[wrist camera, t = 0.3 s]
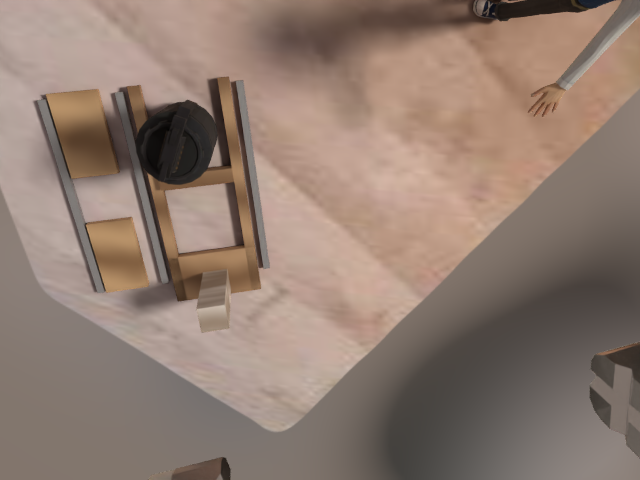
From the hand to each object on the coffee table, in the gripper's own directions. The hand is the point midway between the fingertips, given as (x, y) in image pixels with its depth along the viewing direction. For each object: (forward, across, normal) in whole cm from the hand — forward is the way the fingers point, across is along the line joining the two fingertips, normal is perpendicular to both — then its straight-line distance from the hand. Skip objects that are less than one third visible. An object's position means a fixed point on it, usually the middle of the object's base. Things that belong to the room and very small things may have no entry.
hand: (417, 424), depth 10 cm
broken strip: (+46, +21, +3) cm, 51 cm away
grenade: (+46, +9, -2) cm, 48 cm away
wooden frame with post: (+46, +10, +6) cm, 48 cm away
